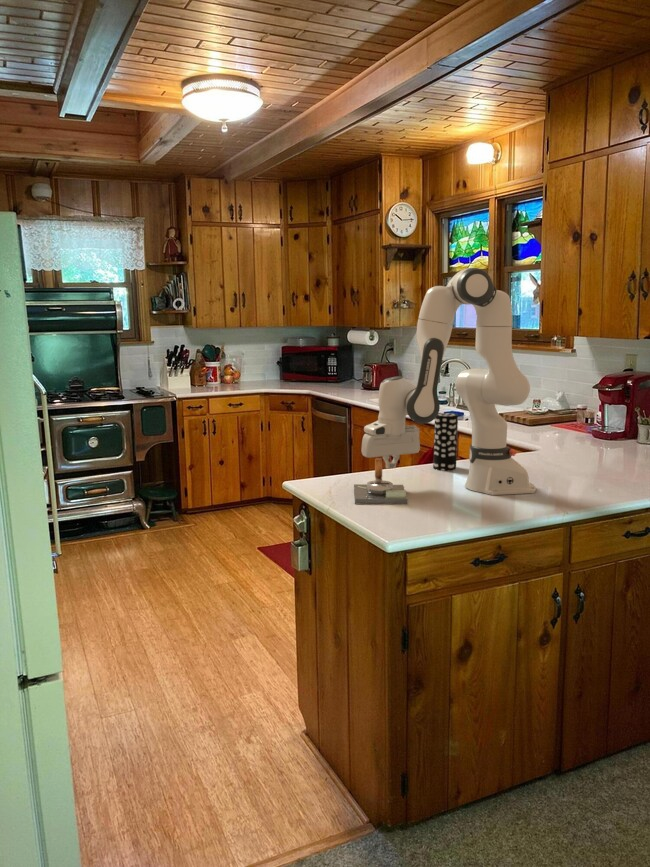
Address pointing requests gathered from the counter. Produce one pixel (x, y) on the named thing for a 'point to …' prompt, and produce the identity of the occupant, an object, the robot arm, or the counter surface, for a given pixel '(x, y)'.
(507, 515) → the counter surface
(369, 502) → the plate
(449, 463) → the spotted tube
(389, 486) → the copper silver knob
